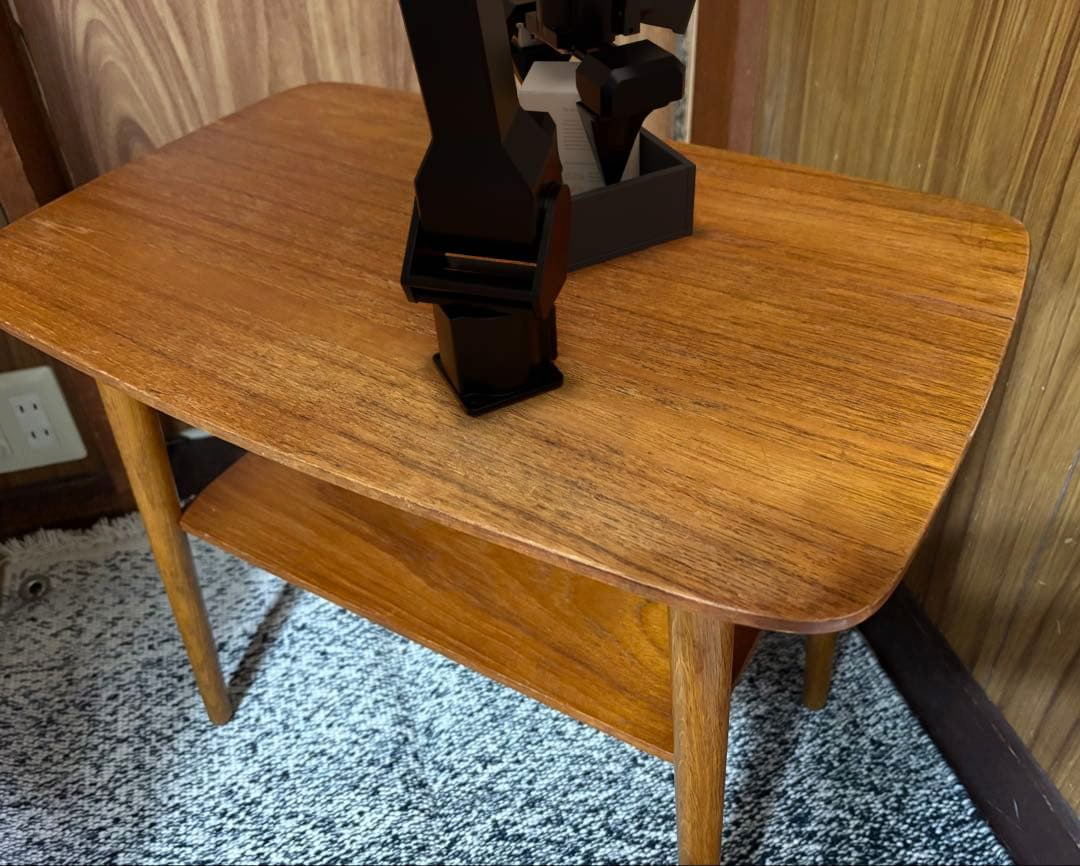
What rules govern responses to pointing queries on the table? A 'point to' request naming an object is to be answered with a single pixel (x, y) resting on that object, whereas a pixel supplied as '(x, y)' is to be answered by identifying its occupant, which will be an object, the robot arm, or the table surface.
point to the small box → (568, 123)
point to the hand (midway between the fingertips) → (582, 159)
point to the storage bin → (634, 207)
